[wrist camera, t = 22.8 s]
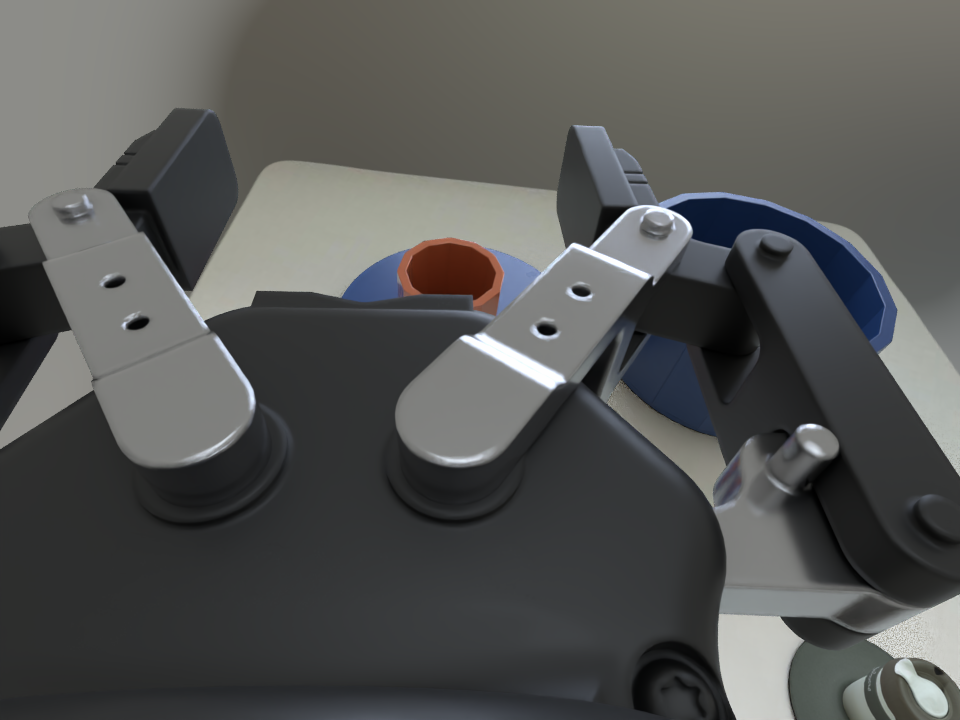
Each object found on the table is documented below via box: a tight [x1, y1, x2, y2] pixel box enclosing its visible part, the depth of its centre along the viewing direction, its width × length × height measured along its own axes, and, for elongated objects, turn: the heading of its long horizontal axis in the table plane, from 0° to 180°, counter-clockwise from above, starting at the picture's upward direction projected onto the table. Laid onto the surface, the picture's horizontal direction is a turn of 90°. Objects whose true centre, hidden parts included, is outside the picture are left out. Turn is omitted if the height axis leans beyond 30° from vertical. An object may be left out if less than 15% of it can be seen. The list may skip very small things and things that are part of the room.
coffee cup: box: [789, 640, 960, 720], centre depth 26 cm, size 12×12×5 cm
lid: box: [342, 247, 541, 314], centre depth 39 cm, size 19×19×5 cm
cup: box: [397, 238, 505, 316], centre depth 33 cm, size 6×6×10 cm
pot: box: [622, 192, 897, 437], centre depth 40 cm, size 18×18×8 cm
